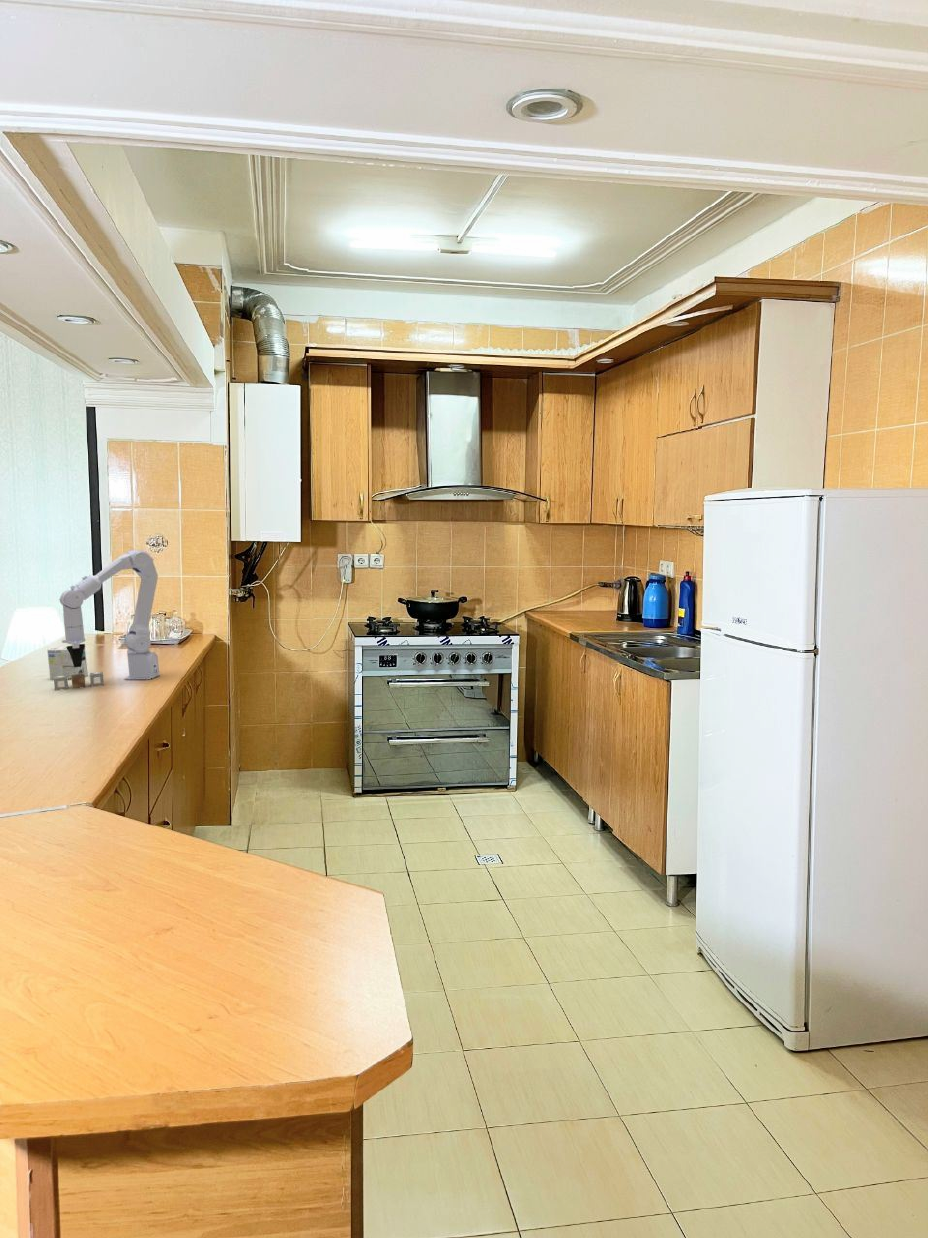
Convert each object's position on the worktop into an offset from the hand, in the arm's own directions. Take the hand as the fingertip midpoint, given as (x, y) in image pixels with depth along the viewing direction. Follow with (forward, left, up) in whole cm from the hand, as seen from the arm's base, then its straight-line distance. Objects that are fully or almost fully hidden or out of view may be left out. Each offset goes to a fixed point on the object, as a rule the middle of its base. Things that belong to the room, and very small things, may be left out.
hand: (77, 666), depth 295 cm
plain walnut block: (0, 0, -7) cm, 7 cm away
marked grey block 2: (-5, -3, -7) cm, 9 cm away
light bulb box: (+12, -16, -7) cm, 21 cm away
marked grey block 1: (+5, +3, -7) cm, 9 cm away
